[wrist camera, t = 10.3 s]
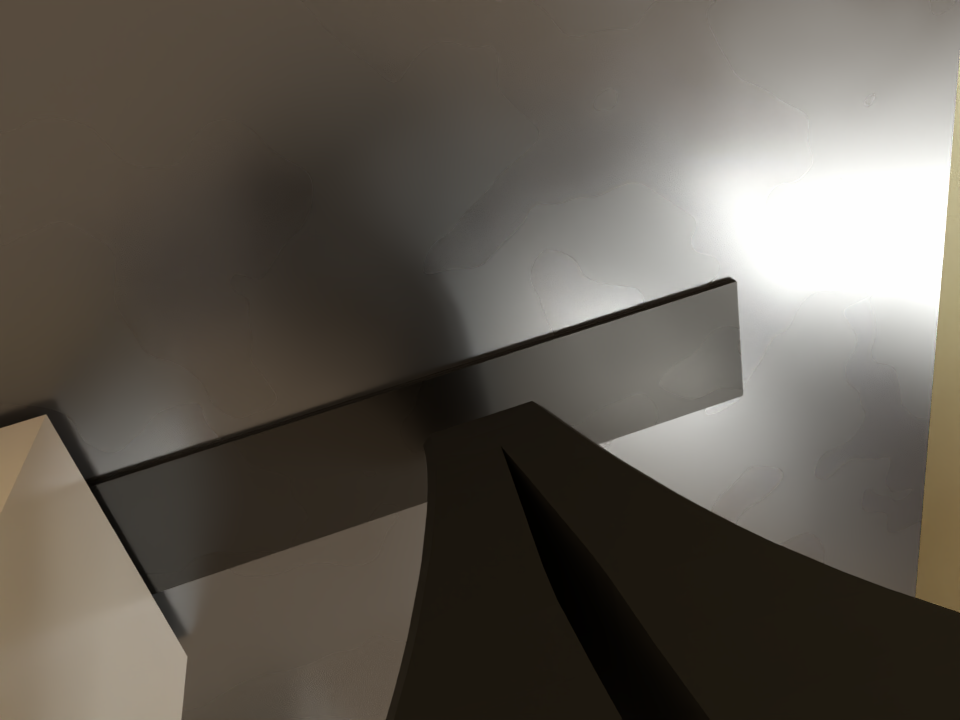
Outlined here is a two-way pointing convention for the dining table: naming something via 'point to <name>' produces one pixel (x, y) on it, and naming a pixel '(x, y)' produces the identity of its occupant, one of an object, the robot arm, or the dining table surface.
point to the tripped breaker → (73, 598)
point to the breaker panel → (462, 284)
